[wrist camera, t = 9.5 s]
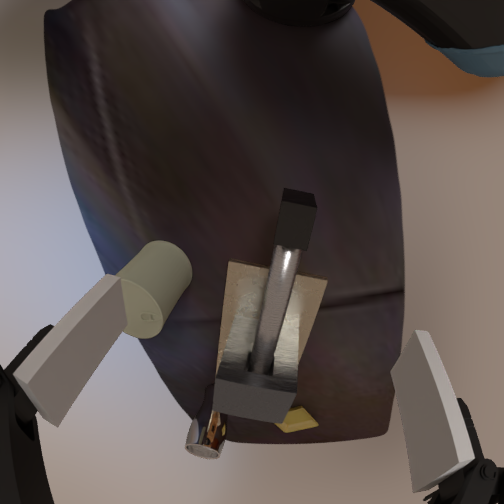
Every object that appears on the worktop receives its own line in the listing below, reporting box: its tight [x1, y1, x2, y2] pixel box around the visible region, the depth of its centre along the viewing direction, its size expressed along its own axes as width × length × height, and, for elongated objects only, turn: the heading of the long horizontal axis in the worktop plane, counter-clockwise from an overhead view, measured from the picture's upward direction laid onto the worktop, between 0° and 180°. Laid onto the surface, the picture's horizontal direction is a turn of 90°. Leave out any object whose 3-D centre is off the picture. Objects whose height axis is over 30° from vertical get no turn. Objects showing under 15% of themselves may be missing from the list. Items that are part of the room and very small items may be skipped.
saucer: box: [275, 406, 319, 433], centre depth 55 cm, size 9×9×2 cm
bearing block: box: [212, 258, 328, 424], centre depth 40 cm, size 26×14×14 cm, turn 171°
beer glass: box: [185, 384, 228, 459], centre depth 48 cm, size 7×7×15 cm
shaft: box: [248, 188, 317, 375], centre depth 32 cm, size 27×3×5 cm, turn 171°
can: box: [115, 241, 192, 339], centre depth 38 cm, size 9×9×12 cm
